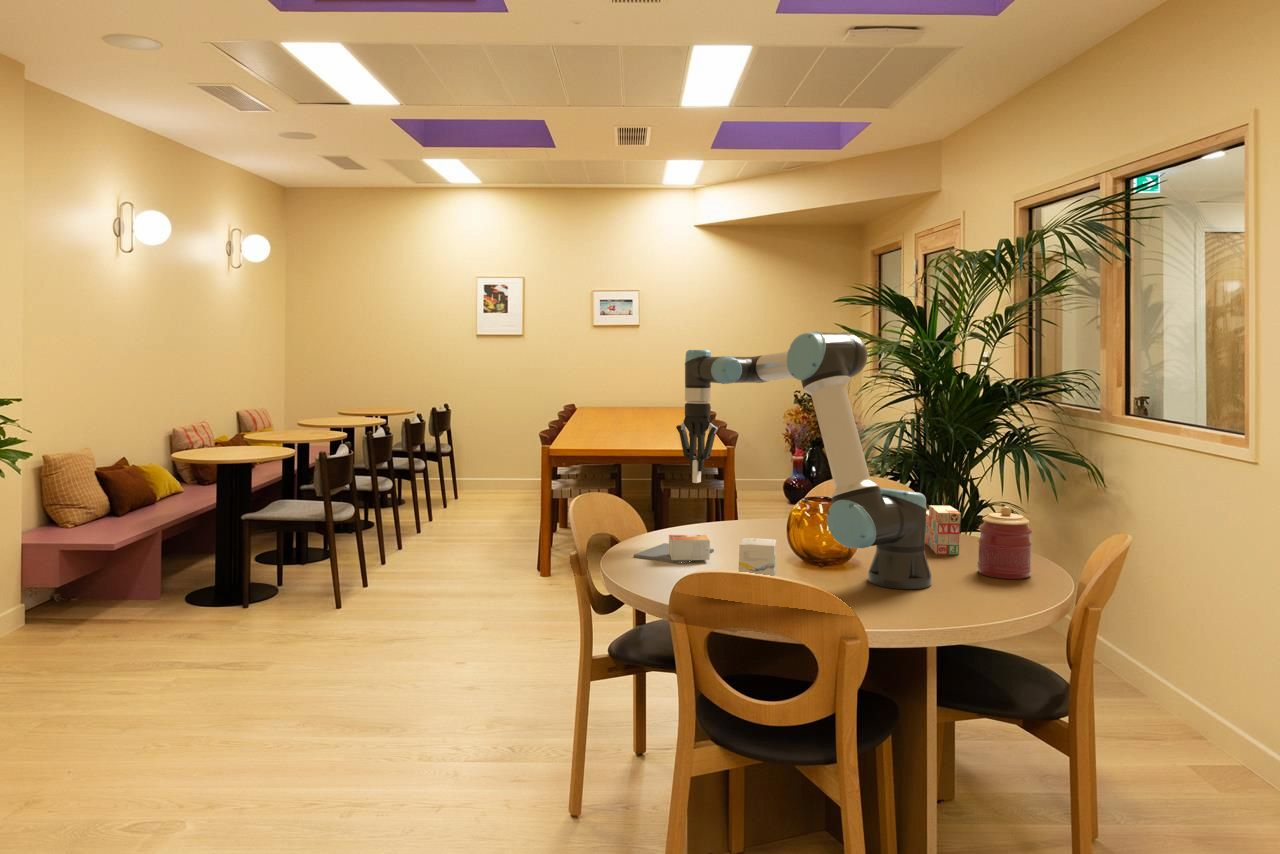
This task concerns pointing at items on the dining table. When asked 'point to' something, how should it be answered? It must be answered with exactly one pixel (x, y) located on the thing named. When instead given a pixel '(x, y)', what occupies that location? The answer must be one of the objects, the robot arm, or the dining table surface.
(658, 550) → the mat
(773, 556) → the ink box
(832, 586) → the dining table surface
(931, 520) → the stack of blocks
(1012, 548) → the canister
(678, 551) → the small box
